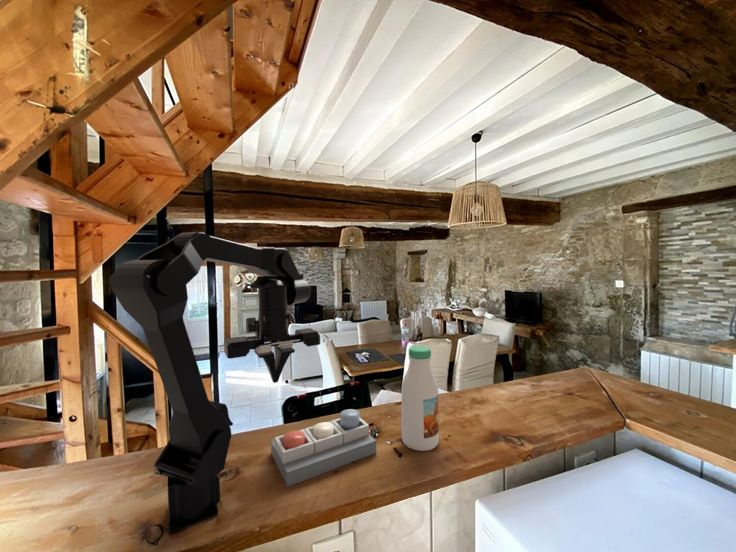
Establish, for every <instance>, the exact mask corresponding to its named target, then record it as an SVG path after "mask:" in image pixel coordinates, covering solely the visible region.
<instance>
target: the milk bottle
mask: <svg viewBox="0 0 736 552" xmlns="http://www.w3.org/2000/svg"><path fill="white" fill-rule="evenodd" d="M431 357H432V350H431V348H430V347H428V346H423V345H414V346H411V347H409V348H408V359H409V363H408V364H409V365H408V367H407V371H406V373H405V374H404V377H403V380H402V384H401V385H402V386H401V440H402V442H403V444H404V445H405V446H406V447H407V448H409V449H411V450H413V451H420V452H426V451H431V450H434V448H436V447H437V446H438V444H439V439H440V438H439V434H440V433H439V432H440V431H439V428H440V427H439V423H440V422H439V421H440V419H439V418H440V416H439V415H440V414H439V410H440V409H439V401H440V400H439V388H438V383H437V379H436V376H435V375H434V373H433V370H432V366H431V360H432V358H431Z"/></svg>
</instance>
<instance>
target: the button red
mask: <svg viewBox="0 0 736 552" xmlns="http://www.w3.org/2000/svg"><path fill="white" fill-rule="evenodd" d="M283 435H284V436H283V447H284V449H285V450H288V449H291V448H294V447H297V446H300V445H304V444H305V434H304V433H303V432H302V431H298V430H290V431H288V432H286V433H285V434H283Z"/></svg>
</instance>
